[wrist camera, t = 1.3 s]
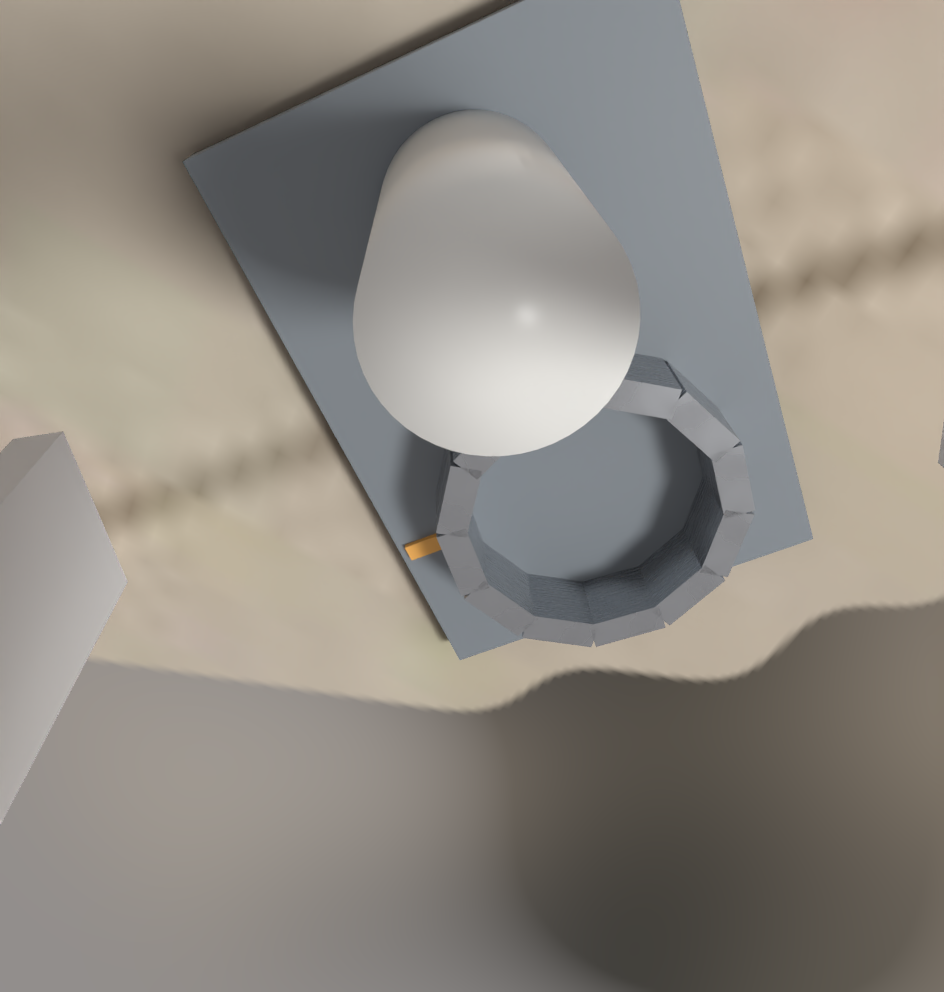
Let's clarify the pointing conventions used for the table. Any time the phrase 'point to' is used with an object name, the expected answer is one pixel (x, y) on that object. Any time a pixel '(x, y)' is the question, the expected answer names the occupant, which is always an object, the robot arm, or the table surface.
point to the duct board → (625, 209)
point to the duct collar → (631, 592)
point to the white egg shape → (491, 291)
